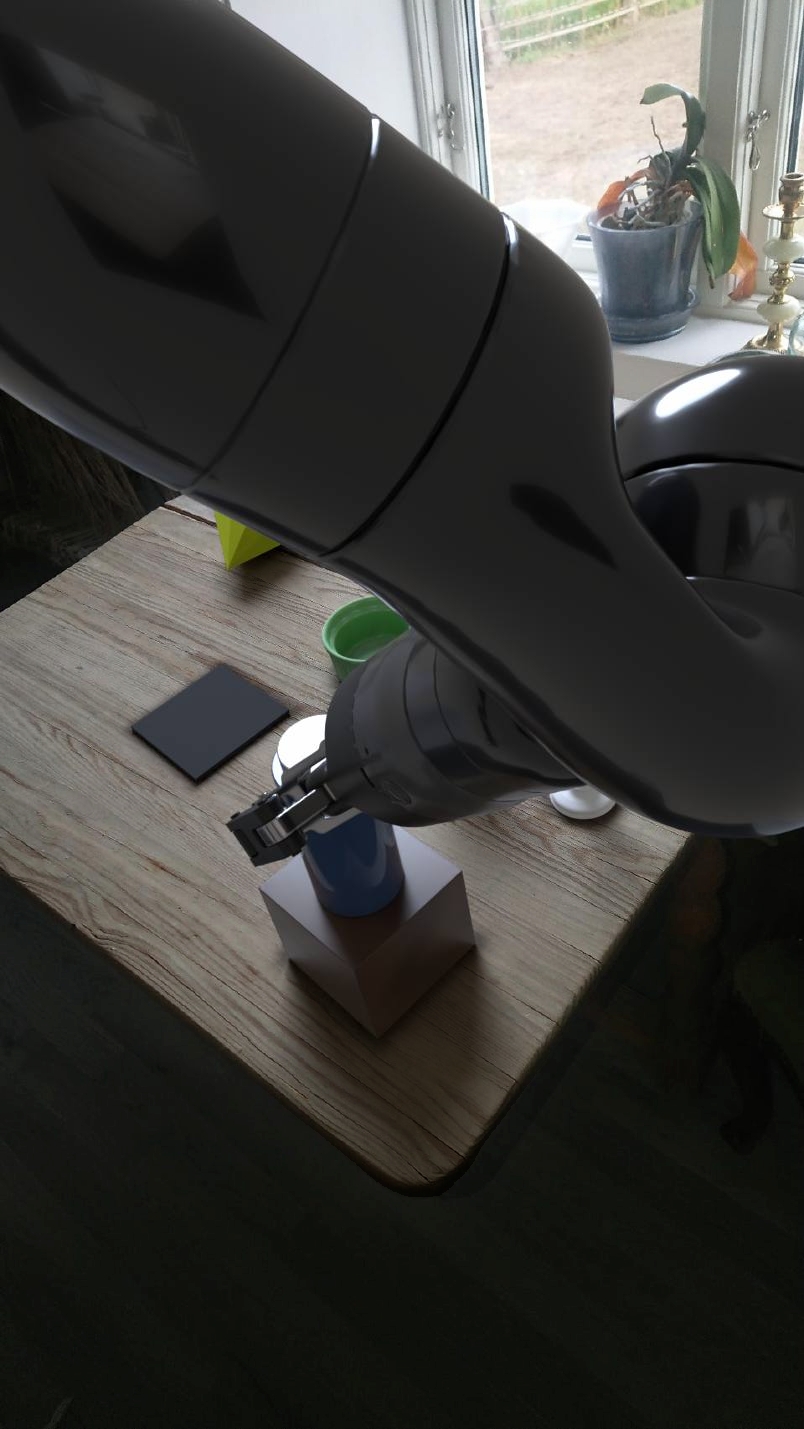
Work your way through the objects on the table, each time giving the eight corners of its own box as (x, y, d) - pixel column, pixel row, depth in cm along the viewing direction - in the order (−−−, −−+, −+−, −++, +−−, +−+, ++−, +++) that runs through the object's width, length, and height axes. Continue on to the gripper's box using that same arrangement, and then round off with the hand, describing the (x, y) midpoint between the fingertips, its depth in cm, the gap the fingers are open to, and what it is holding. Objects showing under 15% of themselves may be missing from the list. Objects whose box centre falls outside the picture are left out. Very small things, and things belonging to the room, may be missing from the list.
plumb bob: (288, 596, 96) (353, 439, 111) (242, 528, 90) (316, 371, 105) (214, 608, 100) (286, 455, 115) (165, 543, 94) (247, 390, 109)
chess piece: (628, 781, 72) (629, 682, 65) (600, 828, 69) (598, 730, 63) (567, 761, 74) (562, 663, 68) (538, 806, 72) (529, 708, 65)
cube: (378, 1039, 60) (354, 971, 55) (287, 957, 66) (257, 887, 60) (476, 943, 64) (462, 870, 59) (383, 872, 70) (363, 799, 64)
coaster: (197, 782, 79) (195, 779, 79) (131, 729, 85) (130, 726, 85) (290, 712, 83) (289, 709, 83) (222, 667, 89) (220, 663, 89)
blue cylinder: (356, 934, 57) (311, 800, 48) (295, 884, 60) (244, 750, 52) (423, 873, 59) (391, 735, 51) (361, 828, 62) (322, 691, 54)
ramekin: (440, 633, 88) (434, 594, 85) (420, 702, 82) (413, 663, 79) (346, 630, 90) (336, 593, 87) (319, 698, 84) (308, 659, 81)
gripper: (525, 552, 40) (392, 647, 55) (240, 741, 34) (179, 790, 49) (626, 704, 40) (467, 758, 55) (359, 915, 35) (263, 911, 50)
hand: (331, 773), depth 52 cm, fingers open, 8 cm apart
